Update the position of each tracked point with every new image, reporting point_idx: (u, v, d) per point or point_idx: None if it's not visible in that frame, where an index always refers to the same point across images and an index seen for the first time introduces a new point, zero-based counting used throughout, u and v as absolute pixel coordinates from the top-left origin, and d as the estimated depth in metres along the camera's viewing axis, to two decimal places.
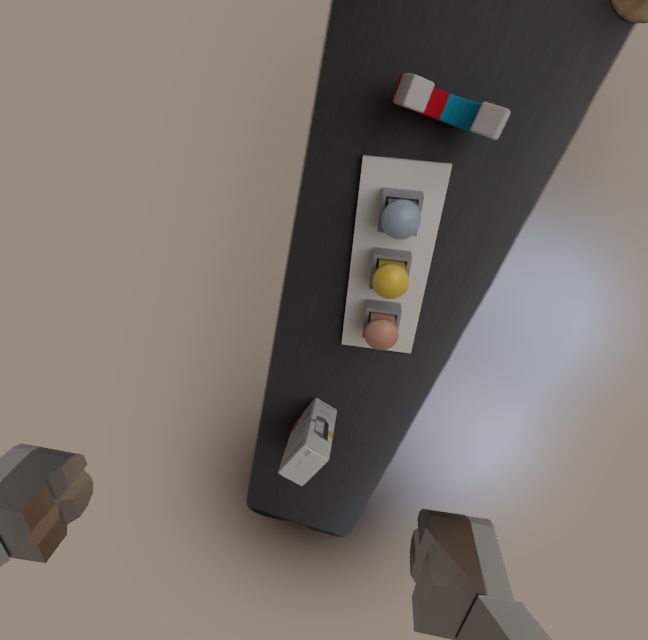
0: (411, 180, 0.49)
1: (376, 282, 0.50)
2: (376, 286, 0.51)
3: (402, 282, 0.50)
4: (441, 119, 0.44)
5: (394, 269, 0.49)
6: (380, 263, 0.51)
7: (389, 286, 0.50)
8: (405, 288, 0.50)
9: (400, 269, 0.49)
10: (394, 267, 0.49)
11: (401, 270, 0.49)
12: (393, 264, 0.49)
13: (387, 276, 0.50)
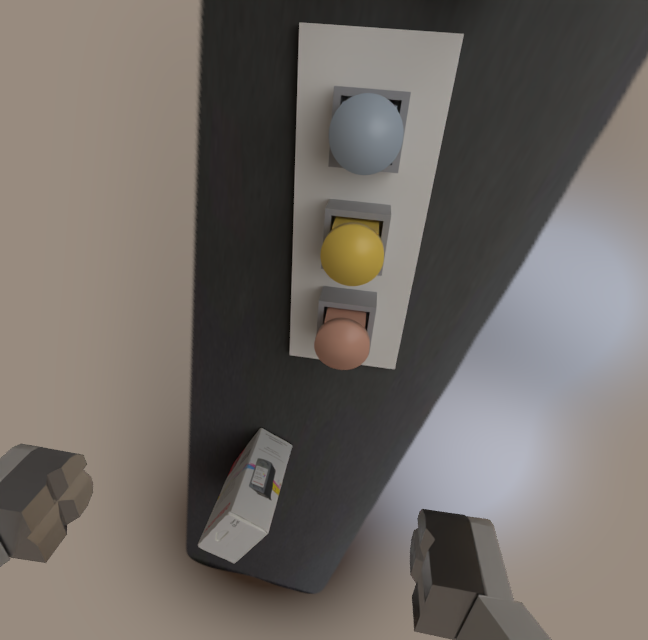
0: (388, 70, 0.27)
1: (327, 257, 0.29)
2: (328, 264, 0.29)
3: (372, 256, 0.28)
4: None
5: (358, 233, 0.27)
6: (335, 223, 0.29)
7: (350, 264, 0.29)
8: (378, 267, 0.28)
9: (368, 232, 0.27)
10: (357, 229, 0.27)
11: (370, 234, 0.27)
12: (356, 224, 0.28)
13: (346, 246, 0.28)
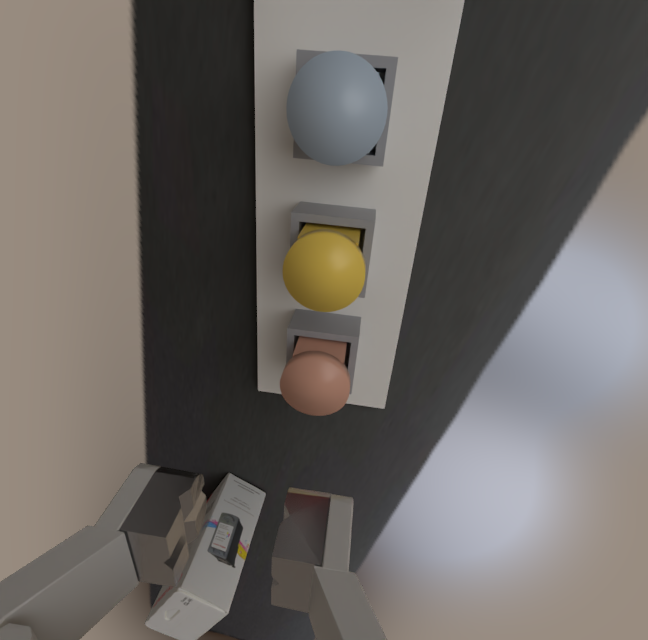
0: (370, 34, 0.21)
1: (291, 274, 0.22)
2: (292, 283, 0.22)
3: (350, 274, 0.21)
4: None
5: (330, 244, 0.21)
6: (303, 231, 0.23)
7: (321, 283, 0.22)
8: (358, 288, 0.22)
9: (343, 243, 0.21)
10: (329, 238, 0.21)
11: (346, 245, 0.21)
12: (328, 231, 0.21)
13: (315, 260, 0.21)
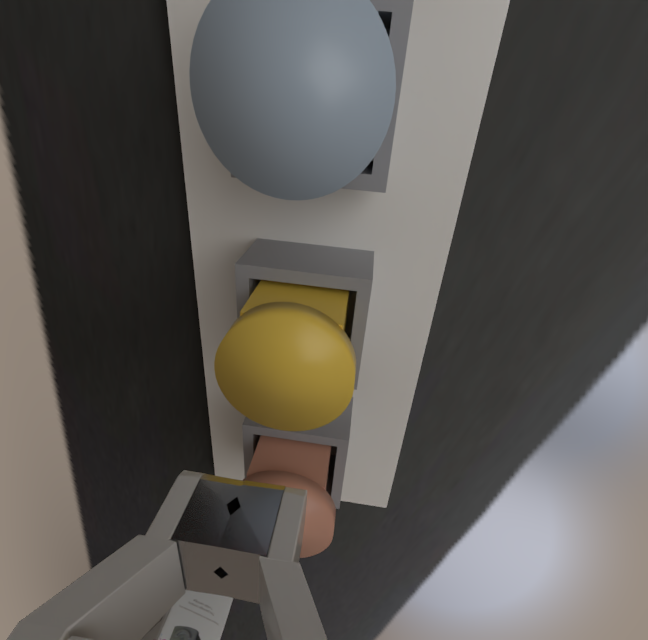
0: None
1: (230, 376, 0.13)
2: (233, 389, 0.13)
3: (329, 379, 0.12)
4: None
5: (292, 333, 0.12)
6: (253, 299, 0.14)
7: (281, 391, 0.13)
8: (343, 400, 0.13)
9: (315, 331, 0.12)
10: (290, 323, 0.12)
11: (320, 335, 0.12)
12: (289, 309, 0.12)
13: (267, 356, 0.12)
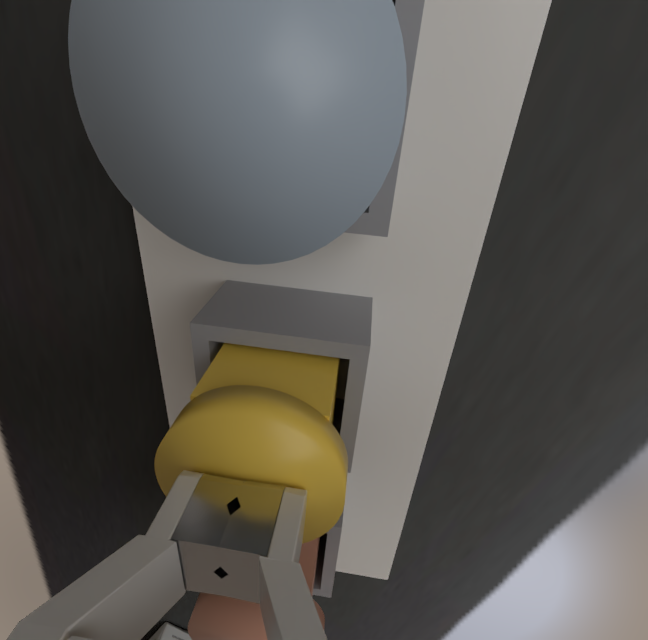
0: None
1: None
2: None
3: (310, 492, 0.09)
4: None
5: (257, 435, 0.08)
6: (212, 372, 0.10)
7: None
8: (330, 516, 0.09)
9: (290, 435, 0.08)
10: (253, 424, 0.08)
11: (296, 440, 0.08)
12: (254, 399, 0.09)
13: (225, 462, 0.09)
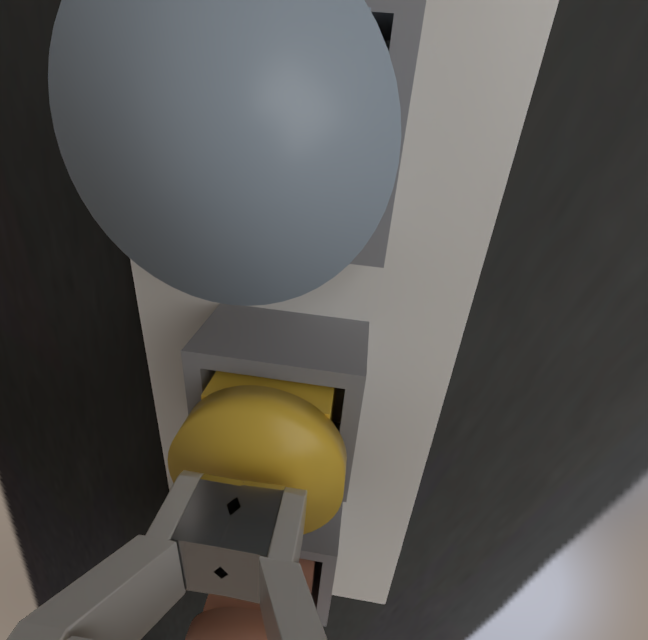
0: None
1: None
2: None
3: (312, 484, 0.10)
4: None
5: (264, 431, 0.09)
6: (220, 374, 0.11)
7: None
8: (329, 507, 0.10)
9: (293, 430, 0.09)
10: (260, 420, 0.09)
11: (299, 435, 0.09)
12: (260, 398, 0.09)
13: (233, 456, 0.10)
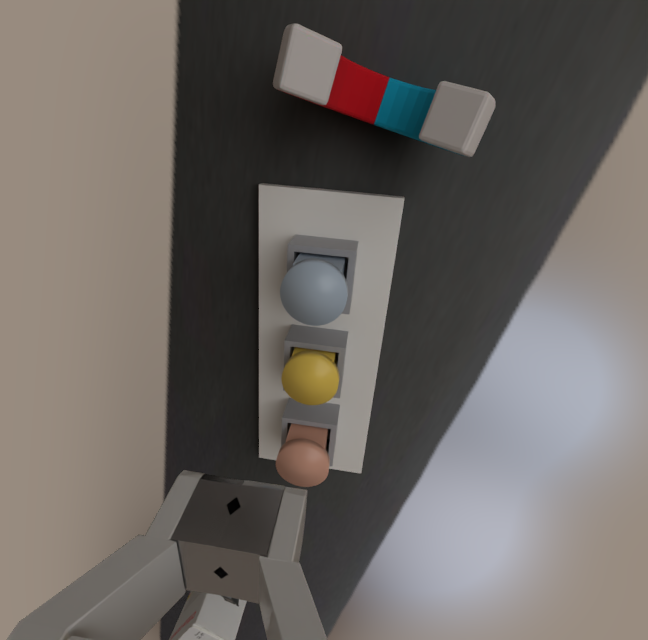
0: (339, 223, 0.30)
1: (287, 380, 0.31)
2: (288, 386, 0.32)
3: (328, 381, 0.31)
4: (377, 123, 0.25)
5: (314, 363, 0.30)
6: (296, 348, 0.32)
7: (308, 387, 0.31)
8: (334, 390, 0.31)
9: (323, 362, 0.30)
10: (313, 359, 0.30)
11: (324, 364, 0.30)
12: (312, 353, 0.31)
13: (303, 372, 0.31)
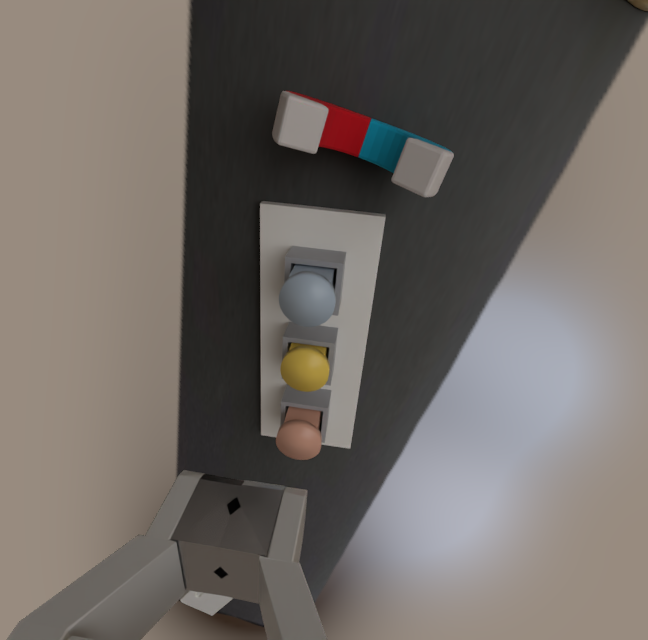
0: (330, 237, 0.35)
1: (285, 371, 0.37)
2: (286, 376, 0.37)
3: (320, 372, 0.36)
4: (361, 156, 0.30)
5: (308, 356, 0.36)
6: (293, 343, 0.38)
7: (303, 376, 0.37)
8: (325, 379, 0.37)
9: (315, 356, 0.36)
10: (307, 353, 0.36)
11: (317, 357, 0.36)
12: (306, 348, 0.36)
13: (299, 364, 0.36)
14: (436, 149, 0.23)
